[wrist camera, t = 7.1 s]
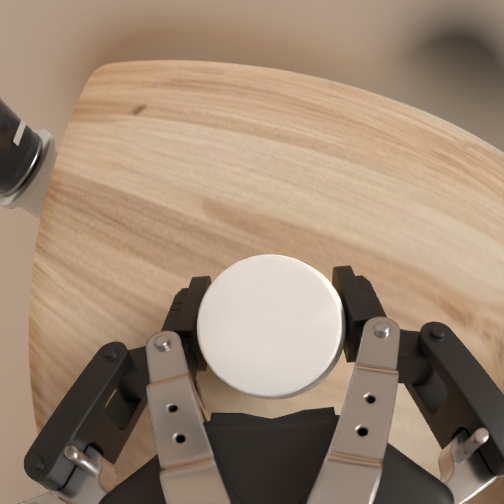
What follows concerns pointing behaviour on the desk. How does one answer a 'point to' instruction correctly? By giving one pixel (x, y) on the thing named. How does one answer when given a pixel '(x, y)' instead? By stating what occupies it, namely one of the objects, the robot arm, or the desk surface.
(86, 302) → the desk surface
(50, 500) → the cosmetic box
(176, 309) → the robot arm
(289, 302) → the supplement bottle
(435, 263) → the desk surface
